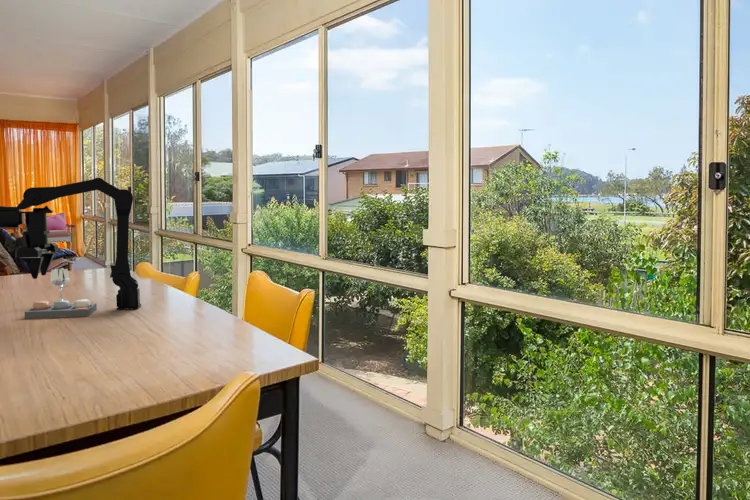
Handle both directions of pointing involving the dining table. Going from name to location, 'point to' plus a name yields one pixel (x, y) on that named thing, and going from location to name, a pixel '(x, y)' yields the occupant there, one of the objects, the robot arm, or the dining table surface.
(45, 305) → the terracotta button
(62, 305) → the slate button
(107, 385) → the dining table surface
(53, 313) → the button panel
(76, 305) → the cream button
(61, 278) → the wineglass
